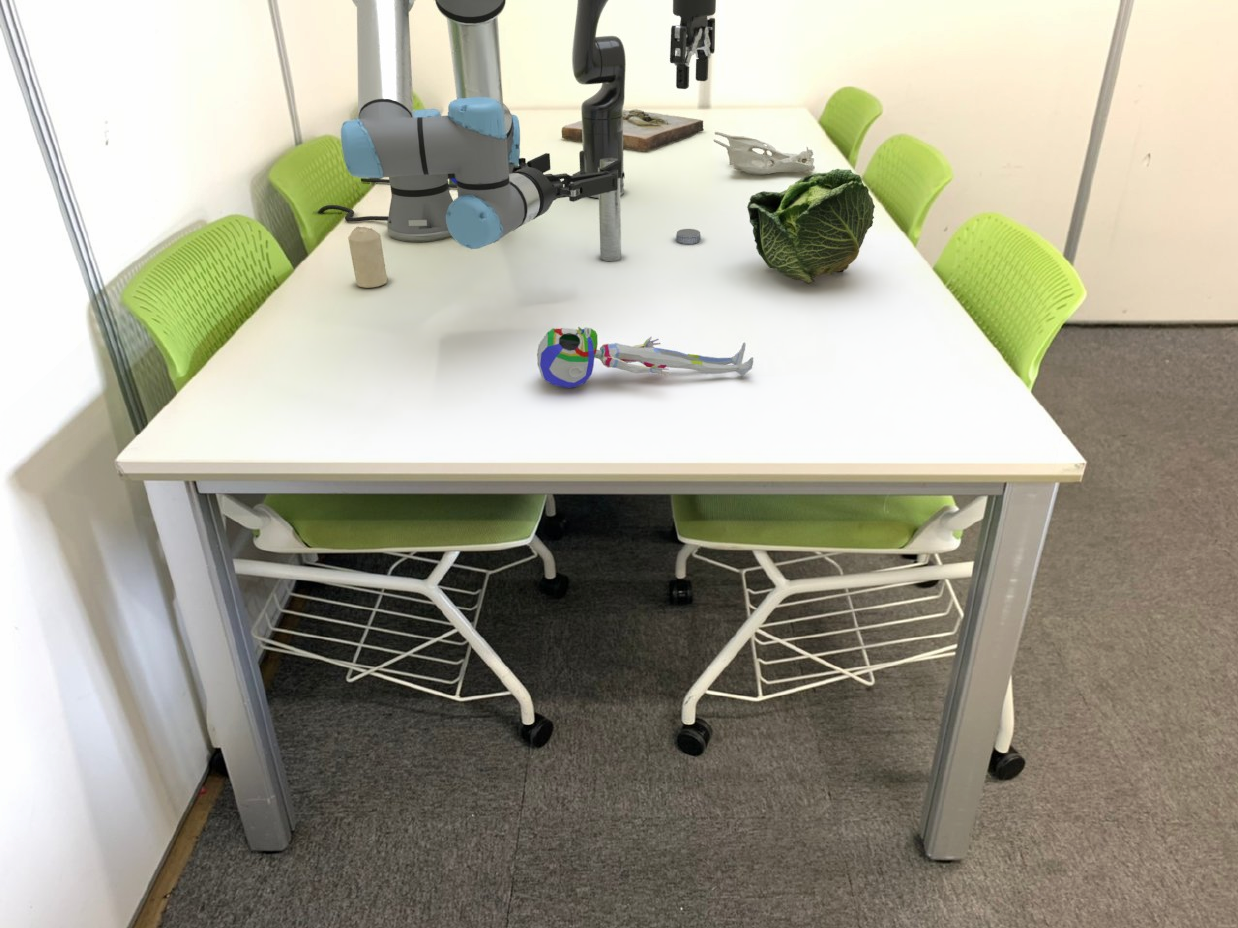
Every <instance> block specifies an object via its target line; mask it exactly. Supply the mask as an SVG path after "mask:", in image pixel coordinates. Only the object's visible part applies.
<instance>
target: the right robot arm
mask: <svg viewBox="0 0 1238 928" xmlns="http://www.w3.org/2000/svg"><path fill="white" fill-rule="evenodd" d="M608 2H609V0H577V5H576V14H575V23H574V30H573V32H574V33H573V38H572V39H573V40H572V49H571V65H572V74H573V76H574V78H575V81H576V82H577V83H578V84H580V85H585V86H586V85H599V84H601V86H600V88H599V90H598V91H597V92H596V93H595V94H593V95H592V96H590V97H589V98H587V99H586V100H584V101H583V102H582V103H581V109H580V112H581V121H582V140H583V142H582V150H580V151H579V153H578V156H579V171H577V172H575V173H572V176H573V175H581V174H588V173H595V172H598V168H599V167H600V160H601V159H603V158H615V159H617V160H619V161H621V178H620V196H622V195H624V193H625V188H624V186H625V183H624V181H625V180H624V179H625V178H626V177H625V171H624V148H623V110H624V105H625V98H626V97H625V96H626V95H625V93H626V92H625V91H626V68H627V67H626V65H627V64H626V63H627V62H626V61H627V59H626V52H625V51H626V50H625V47H624V44H623V41H622V40H621V38H620V37H618V36H616V35H603V36H602V35H601V36H597V31H598V25H599V21H600V19H601V16H602V14H603V10H604V9H605V7H606V5H607V3H608ZM716 10H717V0H672V13H673V15H674V16H676V17H679V18H680V20H679V21H680V22H679V25H671V28H670V47H669V49H670V50H669V63H670V64H674V66H676V68H675V69H676V71H675V73H676V74H675V86H676V89H678V90H686V89H688V88H689V87H690V63H691V59H692V57H693V56H694V55H695V57H696V59H695V81H697V82H707V81H708V79H709V61H710V59H711V57H712V54H715V50H716V49H715V48H716V47H715V46H716V18H715V17H712V16H714V15H715V14H716V12H717V11H716ZM360 182H362V183H383V184H390V181H389V178H388V179H387V178H362V177H360ZM561 182H562V184H563V186H564V179H562V180H561ZM448 185H449V189H457V184H449V183H448ZM589 198H595V199H599V194H598V195H593V196H589Z"/></svg>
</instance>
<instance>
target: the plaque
mask: <svg viewBox="0 0 1238 928" xmlns="http://www.w3.org/2000/svg"><path fill="white" fill-rule="evenodd" d="M704 130H705V129H704V120H702V119H698V118H693V117H685V116H679V115H669V114H663V113H659V112H650V111H644V110H642V109H637V108H636V109H635V108H634V109H630V110H629V109H623V149H625V150H632V151H640V152H648V151H654V150H656V149H659V148H662V147H663V146H664V147H665V146H667V145H670V144H672V143H676V142H680V141H682V140H684V139H687V138H691V137H692V136H694V135H696V134H698V133H700V132H704ZM561 138H562V139H563V140H568V141H573V142H581V143H583V140H582V120H579V121H577V122H573V123H569V124H567V125H564V126H562V127H561Z"/></svg>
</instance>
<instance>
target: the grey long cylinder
mask: <svg viewBox="0 0 1238 928" xmlns="http://www.w3.org/2000/svg"><path fill="white" fill-rule="evenodd" d="M615 161H617V159H615V158H603V159H601V160H600V167H599V168H598V172H600V169H602V168H604V167H606V166H607V165H609V164H611V163H613V162H615ZM621 211H622V209H621V195H620V178H619V179H618V190H615V191H610V192H609V193H607V192H606V193H602V194H599V198H598V220H599V221H598V222H599V223H598V225H599V255H600V257H599V258H600V260H602V261H603V262H617V261H619V260H621V259H622V223H621V222H622V220H621V219H622V218H621V217H622V216H621V215H622V214H621Z"/></svg>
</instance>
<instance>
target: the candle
mask: <svg viewBox="0 0 1238 928" xmlns="http://www.w3.org/2000/svg"><path fill="white" fill-rule="evenodd" d="M347 239H348V244H349V251H350V256H351V262H352V267H353V272H354V273H353V274H354V277H355V278H354V279H355V283H356V285H357V286H358V287H360V288H367V289H369V288H377V287H380V286H384V285H385V284H387V283H388V274H387V268H386V261H385V257H384V250H383V244H382V243H383V242H382V237H381V233H379V231H377V230H375V229H373V228H372V227H370V228H369V227H366V226H356V227H354V228H353V230H352V231H351V232H350V234H349V235H348V237H347Z"/></svg>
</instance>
